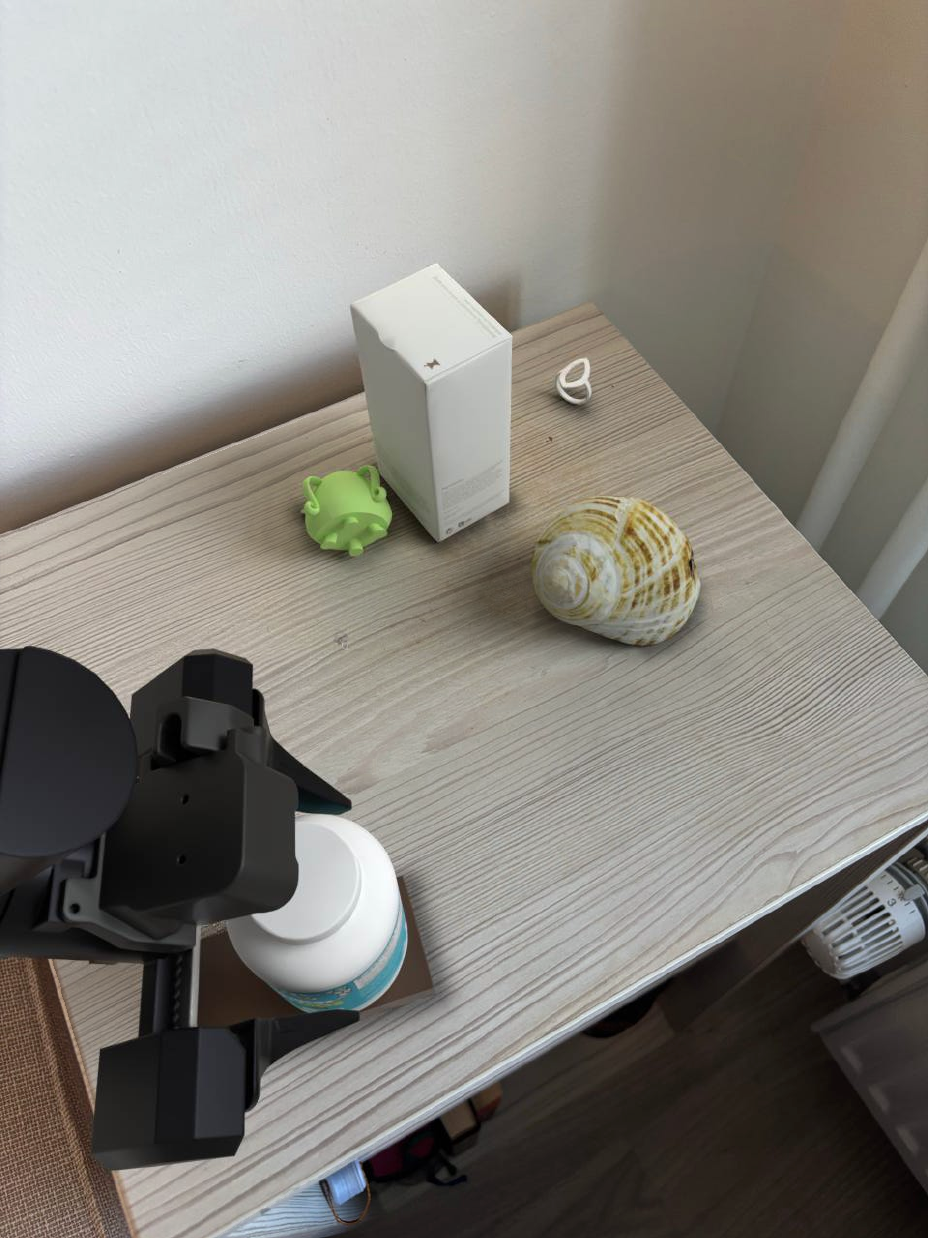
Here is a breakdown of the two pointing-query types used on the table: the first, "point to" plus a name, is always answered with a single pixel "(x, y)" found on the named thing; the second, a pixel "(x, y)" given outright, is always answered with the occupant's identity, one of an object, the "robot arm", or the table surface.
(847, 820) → the table surface
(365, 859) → the pill bottle
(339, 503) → the green footed pot
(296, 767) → the robot arm
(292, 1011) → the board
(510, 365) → the cosmetic box
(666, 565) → the seashell
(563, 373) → the ring
